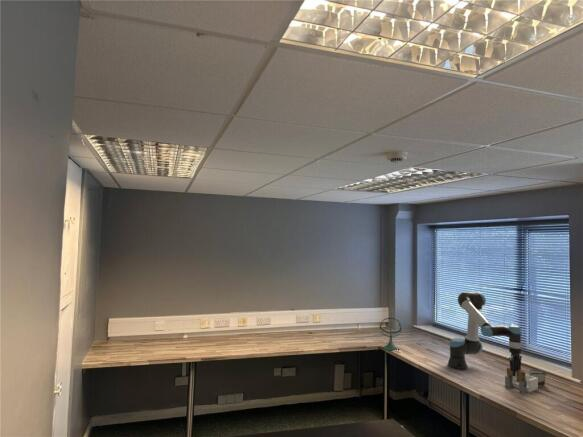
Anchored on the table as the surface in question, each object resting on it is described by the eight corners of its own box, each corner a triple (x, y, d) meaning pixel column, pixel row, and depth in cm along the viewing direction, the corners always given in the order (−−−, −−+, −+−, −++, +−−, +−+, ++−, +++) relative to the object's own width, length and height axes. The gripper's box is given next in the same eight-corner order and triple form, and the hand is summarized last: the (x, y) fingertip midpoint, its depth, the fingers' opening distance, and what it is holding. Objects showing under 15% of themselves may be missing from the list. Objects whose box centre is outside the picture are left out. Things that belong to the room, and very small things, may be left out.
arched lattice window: (540, 382, 283) (540, 369, 284) (546, 385, 277) (546, 372, 278) (525, 382, 283) (524, 369, 284) (530, 385, 277) (530, 372, 277)
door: (507, 378, 275) (506, 367, 275) (508, 378, 276) (508, 367, 276) (524, 383, 264) (523, 372, 265) (525, 383, 265) (525, 371, 266)
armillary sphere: (383, 353, 352) (383, 315, 357) (376, 347, 377) (376, 312, 382) (405, 353, 352) (405, 316, 357) (397, 347, 378) (397, 312, 382)
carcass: (503, 385, 276) (503, 374, 276) (515, 381, 284) (515, 371, 284) (525, 393, 262) (525, 381, 262) (537, 389, 270) (537, 377, 271)
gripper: (514, 350, 265) (515, 383, 263) (525, 347, 272) (526, 380, 271) (504, 347, 271) (504, 380, 270) (515, 344, 279) (516, 376, 277)
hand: (515, 380), depth 270 cm, fingers closed on door, 2 cm apart
